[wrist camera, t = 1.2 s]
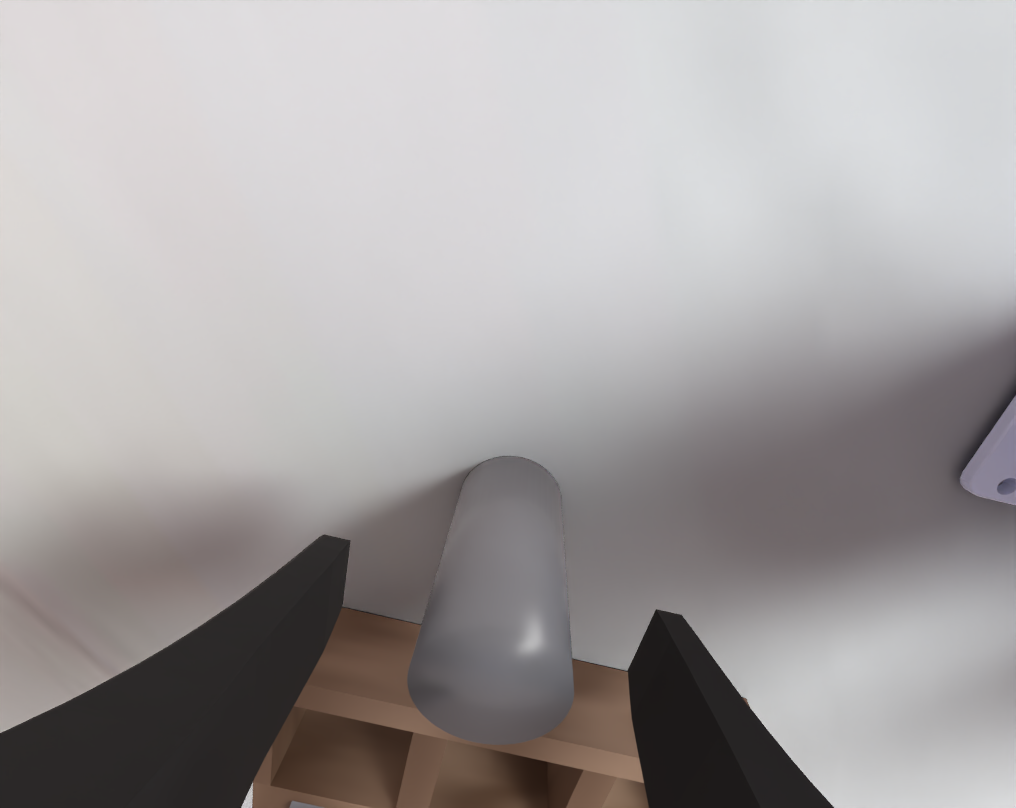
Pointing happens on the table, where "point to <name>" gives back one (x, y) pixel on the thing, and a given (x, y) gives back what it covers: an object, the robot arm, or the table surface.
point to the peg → (498, 612)
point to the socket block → (439, 739)
